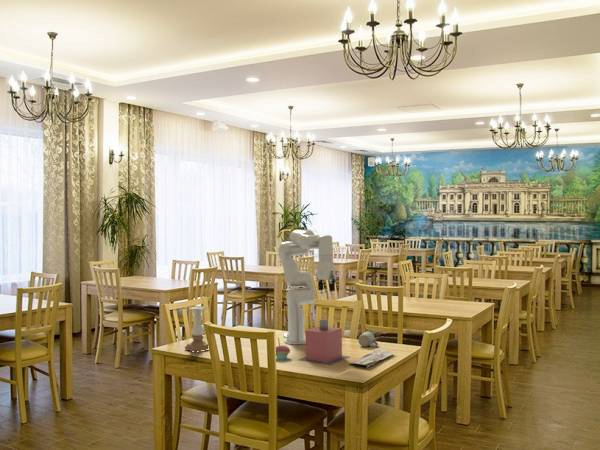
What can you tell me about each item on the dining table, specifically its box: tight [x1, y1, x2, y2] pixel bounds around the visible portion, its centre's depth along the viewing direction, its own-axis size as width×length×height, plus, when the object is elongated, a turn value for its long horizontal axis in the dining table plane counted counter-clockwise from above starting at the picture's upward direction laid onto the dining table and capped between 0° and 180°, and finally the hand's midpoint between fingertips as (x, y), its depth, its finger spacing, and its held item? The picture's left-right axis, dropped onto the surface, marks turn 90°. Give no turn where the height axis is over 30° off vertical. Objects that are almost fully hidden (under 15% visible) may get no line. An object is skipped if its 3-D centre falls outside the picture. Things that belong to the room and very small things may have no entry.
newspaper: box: [348, 349, 395, 369], centre depth 301 cm, size 35×12×4 cm, turn 150°
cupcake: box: [275, 337, 291, 360], centre depth 306 cm, size 9×8×12 cm
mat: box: [297, 355, 350, 366], centre depth 304 cm, size 20×20×1 cm
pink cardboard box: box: [304, 318, 343, 363], centre depth 304 cm, size 13×14×20 cm
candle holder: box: [184, 305, 209, 352], centre depth 330 cm, size 11×11×24 cm
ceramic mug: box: [357, 331, 379, 348], centre depth 335 cm, size 11×8×8 cm
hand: (326, 290), depth 313 cm, fingers open, 9 cm apart
